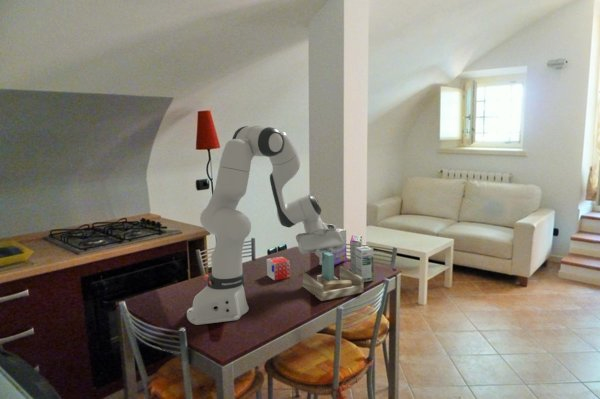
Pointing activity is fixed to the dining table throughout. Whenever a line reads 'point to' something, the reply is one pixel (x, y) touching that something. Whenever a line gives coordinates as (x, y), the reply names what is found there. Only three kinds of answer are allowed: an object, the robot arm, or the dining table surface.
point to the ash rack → (345, 274)
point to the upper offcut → (336, 284)
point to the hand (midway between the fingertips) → (326, 259)
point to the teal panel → (328, 266)
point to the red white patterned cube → (278, 268)
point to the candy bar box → (354, 250)
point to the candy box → (338, 250)
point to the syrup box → (364, 263)
